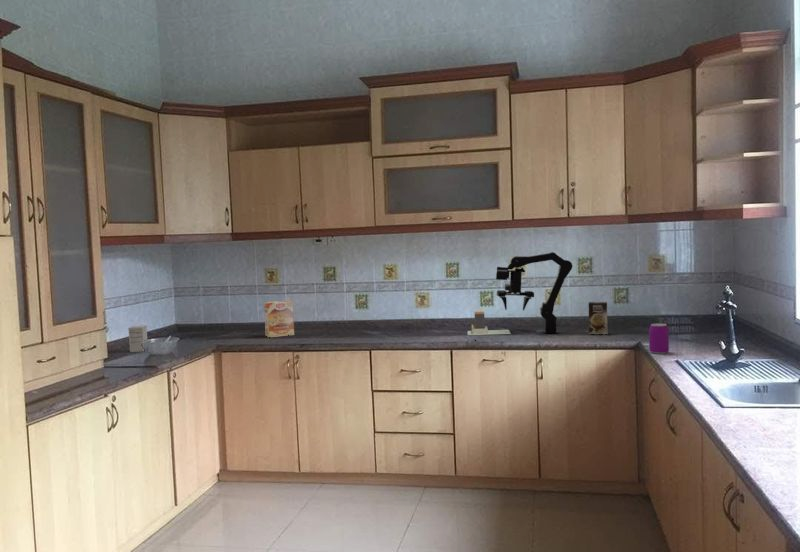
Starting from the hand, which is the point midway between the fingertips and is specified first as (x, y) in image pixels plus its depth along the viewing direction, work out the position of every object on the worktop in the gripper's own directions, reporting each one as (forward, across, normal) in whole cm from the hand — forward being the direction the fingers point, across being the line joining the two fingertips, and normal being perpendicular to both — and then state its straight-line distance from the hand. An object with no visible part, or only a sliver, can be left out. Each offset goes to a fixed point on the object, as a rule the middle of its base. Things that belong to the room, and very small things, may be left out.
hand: (514, 310), depth 361 cm
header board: (+13, +13, -1) cm, 19 cm away
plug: (+12, +18, -1) cm, 21 cm away
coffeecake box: (+22, +126, -32) cm, 132 cm away
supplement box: (+26, +194, 0) cm, 196 cm away
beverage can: (+8, -49, +70) cm, 85 cm away
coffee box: (+10, -40, +14) cm, 44 cm away
